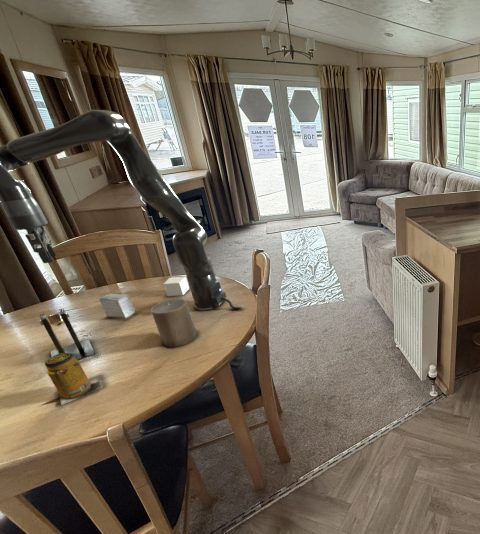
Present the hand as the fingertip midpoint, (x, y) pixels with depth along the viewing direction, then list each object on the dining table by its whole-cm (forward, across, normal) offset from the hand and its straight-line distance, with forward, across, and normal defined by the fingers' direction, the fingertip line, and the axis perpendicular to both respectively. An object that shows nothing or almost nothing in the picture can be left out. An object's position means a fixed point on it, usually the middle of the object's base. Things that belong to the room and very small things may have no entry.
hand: (50, 259), depth 115 cm
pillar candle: (+30, -33, -24) cm, 51 cm away
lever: (+17, -18, +3) cm, 25 cm away
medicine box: (+27, -2, -10) cm, 29 cm away
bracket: (+27, -22, +2) cm, 35 cm away
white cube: (+27, +7, -29) cm, 40 cm away
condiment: (+29, -44, 0) cm, 53 cm away
